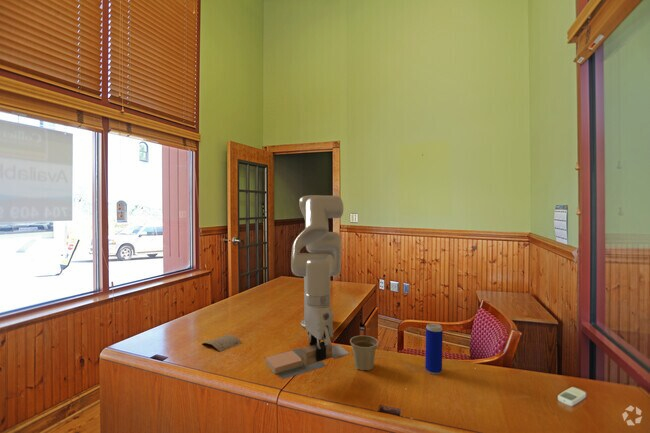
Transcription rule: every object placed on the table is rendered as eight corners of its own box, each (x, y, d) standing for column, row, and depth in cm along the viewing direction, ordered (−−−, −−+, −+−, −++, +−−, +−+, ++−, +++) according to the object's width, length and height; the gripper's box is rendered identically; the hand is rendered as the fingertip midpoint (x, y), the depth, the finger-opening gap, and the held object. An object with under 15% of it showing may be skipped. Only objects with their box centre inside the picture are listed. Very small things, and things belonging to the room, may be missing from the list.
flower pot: (346, 370, 103) (346, 344, 103) (353, 357, 112) (354, 333, 111) (374, 376, 100) (375, 349, 99) (380, 362, 108) (380, 337, 108)
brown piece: (337, 346, 105) (337, 334, 104) (349, 354, 99) (348, 342, 99) (299, 358, 97) (298, 346, 97) (308, 368, 92) (308, 355, 91)
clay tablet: (244, 346, 121) (244, 339, 121) (222, 356, 113) (222, 349, 113) (222, 337, 130) (222, 330, 130) (199, 345, 122) (199, 338, 122)
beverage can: (441, 368, 105) (442, 323, 104) (442, 376, 100) (442, 329, 99) (425, 365, 106) (426, 321, 106) (425, 373, 101) (425, 327, 101)
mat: (304, 348, 119) (304, 347, 119) (326, 366, 105) (326, 365, 105) (264, 358, 110) (264, 357, 110) (282, 380, 97) (282, 379, 97)
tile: (292, 350, 111) (302, 360, 105) (292, 356, 112) (302, 365, 105) (265, 357, 106) (274, 367, 99) (265, 363, 106) (274, 374, 100)
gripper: (343, 304, 91) (342, 366, 92) (315, 289, 105) (315, 342, 106) (321, 309, 87) (320, 373, 88) (295, 293, 101) (294, 348, 102)
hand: (317, 356), depth 97 cm, fingers closed on brown piece, 3 cm apart
